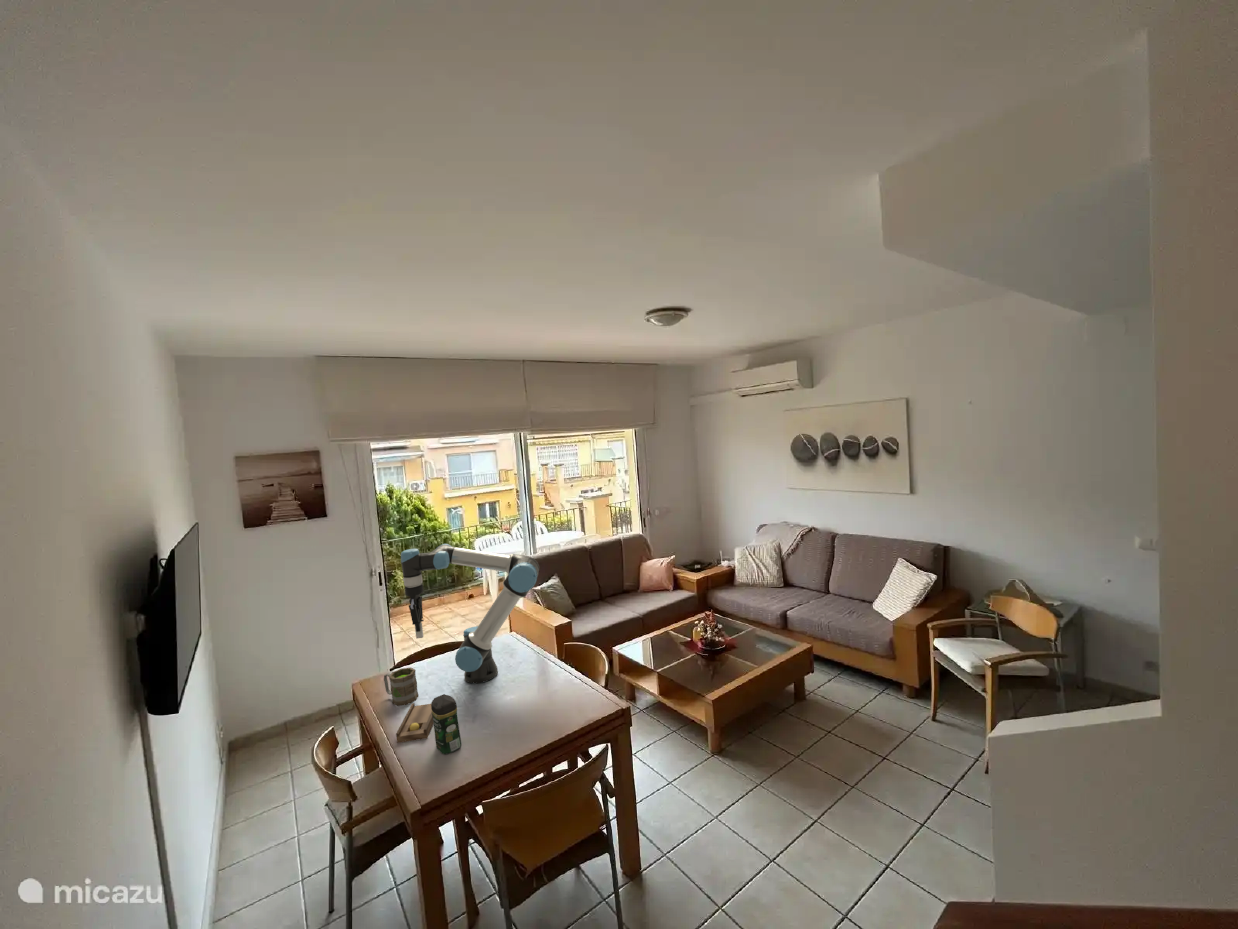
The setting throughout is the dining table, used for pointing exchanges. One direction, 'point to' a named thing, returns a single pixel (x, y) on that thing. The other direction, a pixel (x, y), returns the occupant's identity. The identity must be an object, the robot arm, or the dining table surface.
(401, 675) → the mug
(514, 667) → the dining table surface
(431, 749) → the dining table surface
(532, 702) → the dining table surface
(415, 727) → the ball
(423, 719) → the lane board
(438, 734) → the coffee jar
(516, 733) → the dining table surface
